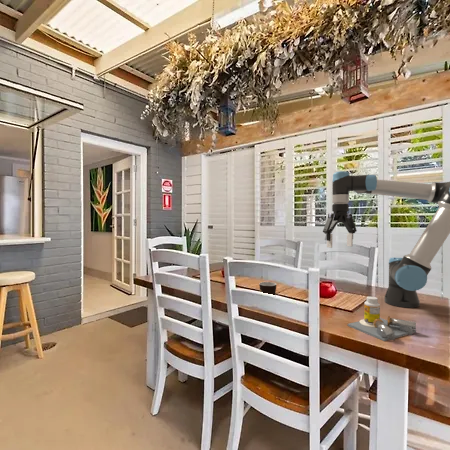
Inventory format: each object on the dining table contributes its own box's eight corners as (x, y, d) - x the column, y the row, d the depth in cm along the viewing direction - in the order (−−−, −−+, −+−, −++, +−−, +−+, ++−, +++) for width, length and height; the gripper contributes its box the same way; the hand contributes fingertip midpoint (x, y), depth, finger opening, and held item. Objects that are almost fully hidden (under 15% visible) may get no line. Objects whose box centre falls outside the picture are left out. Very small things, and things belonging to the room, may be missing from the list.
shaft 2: (387, 330, 113) (387, 318, 113) (388, 326, 117) (388, 314, 117) (415, 335, 108) (415, 322, 108) (415, 331, 112) (416, 319, 111)
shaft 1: (372, 330, 113) (372, 318, 112) (384, 331, 112) (384, 318, 112) (383, 341, 103) (383, 327, 103) (396, 341, 103) (396, 327, 103)
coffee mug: (276, 306, 142) (276, 286, 142) (258, 305, 144) (258, 285, 144) (276, 300, 154) (277, 281, 153) (260, 299, 156) (260, 280, 155)
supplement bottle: (363, 319, 122) (363, 295, 121) (378, 321, 120) (379, 296, 119) (364, 324, 116) (365, 298, 116) (380, 326, 114) (380, 300, 114)
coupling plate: (376, 318, 126) (376, 316, 126) (416, 332, 111) (416, 329, 111) (346, 325, 118) (346, 322, 118) (384, 341, 103) (384, 338, 103)
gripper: (352, 204, 153) (351, 245, 154) (315, 203, 142) (315, 247, 143) (364, 203, 146) (364, 246, 147) (327, 202, 135) (326, 248, 136)
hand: (339, 246), depth 145 cm, fingers open, 13 cm apart
